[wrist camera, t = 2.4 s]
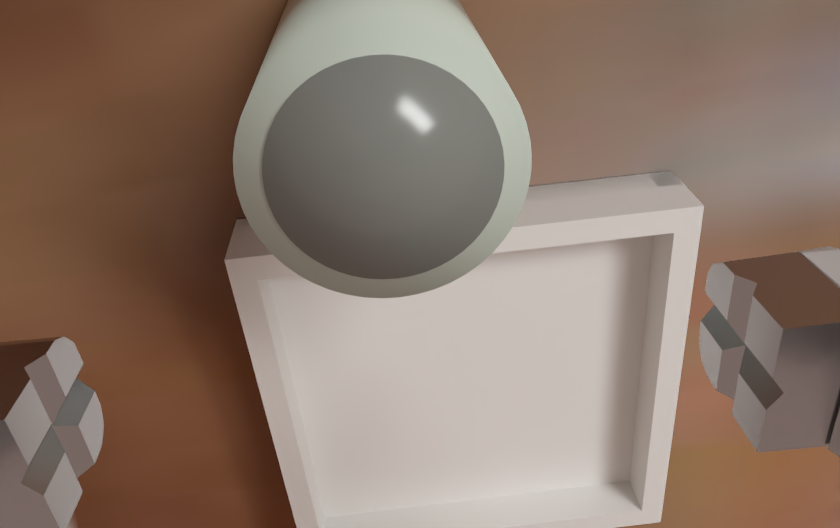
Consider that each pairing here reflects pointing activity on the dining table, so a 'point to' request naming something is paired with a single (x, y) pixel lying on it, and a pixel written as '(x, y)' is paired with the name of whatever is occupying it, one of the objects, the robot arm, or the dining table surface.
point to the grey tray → (487, 371)
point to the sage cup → (380, 146)
